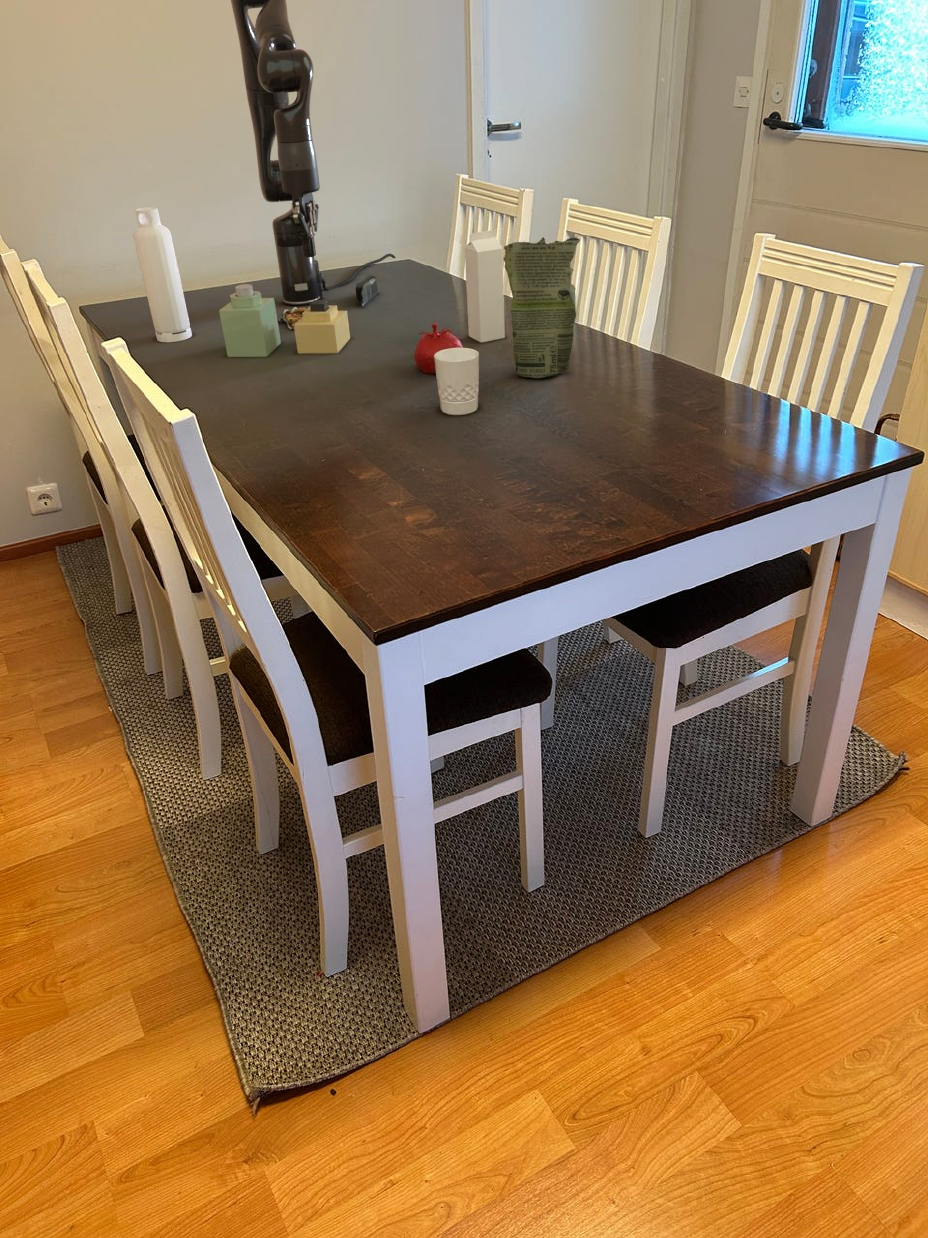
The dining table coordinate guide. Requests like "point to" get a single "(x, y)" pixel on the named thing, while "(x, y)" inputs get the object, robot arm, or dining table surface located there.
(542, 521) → the dining table surface
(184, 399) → the dining table surface
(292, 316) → the barbecue chicken platter
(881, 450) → the dining table surface
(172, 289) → the bottle
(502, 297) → the milk
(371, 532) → the dining table surface
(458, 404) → the white cup
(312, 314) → the block
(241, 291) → the round grey push button
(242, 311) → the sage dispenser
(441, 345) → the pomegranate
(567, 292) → the pouch
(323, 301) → the charcoal square push button
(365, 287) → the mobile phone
